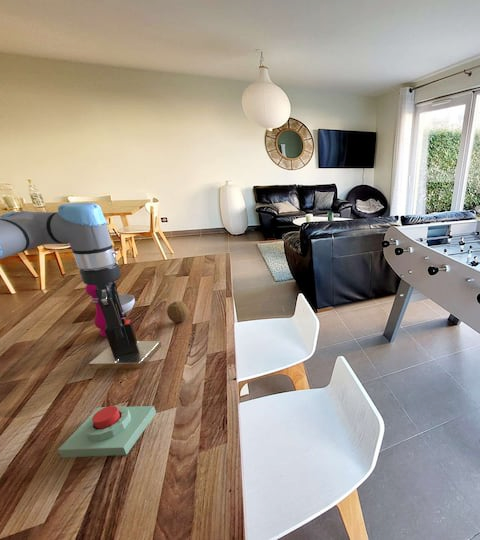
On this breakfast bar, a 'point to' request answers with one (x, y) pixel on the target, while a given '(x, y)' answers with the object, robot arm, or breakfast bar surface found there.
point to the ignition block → (109, 434)
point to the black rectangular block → (131, 338)
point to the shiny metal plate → (126, 357)
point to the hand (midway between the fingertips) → (123, 342)
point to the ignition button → (106, 417)
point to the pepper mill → (97, 310)
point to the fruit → (177, 311)
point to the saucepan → (126, 302)
